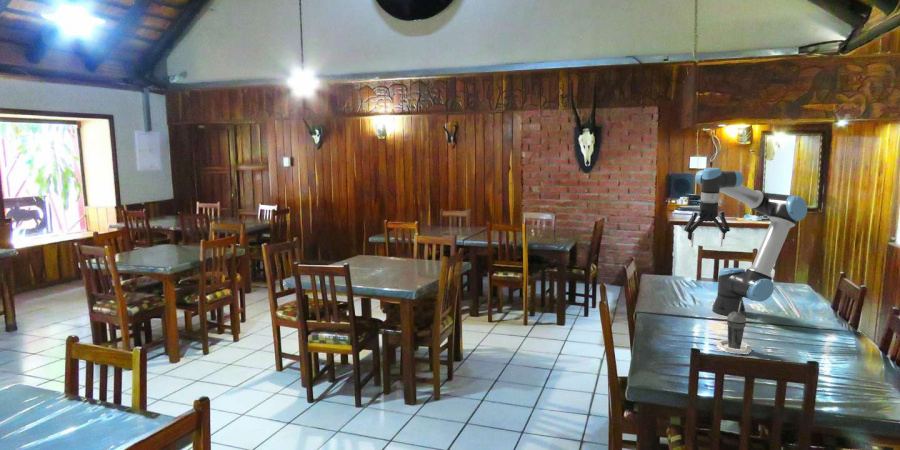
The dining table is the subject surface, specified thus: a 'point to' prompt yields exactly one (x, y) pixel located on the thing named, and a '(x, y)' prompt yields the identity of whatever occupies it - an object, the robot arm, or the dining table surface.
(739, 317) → the beverage cup
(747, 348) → the plate
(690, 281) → the dining table surface
